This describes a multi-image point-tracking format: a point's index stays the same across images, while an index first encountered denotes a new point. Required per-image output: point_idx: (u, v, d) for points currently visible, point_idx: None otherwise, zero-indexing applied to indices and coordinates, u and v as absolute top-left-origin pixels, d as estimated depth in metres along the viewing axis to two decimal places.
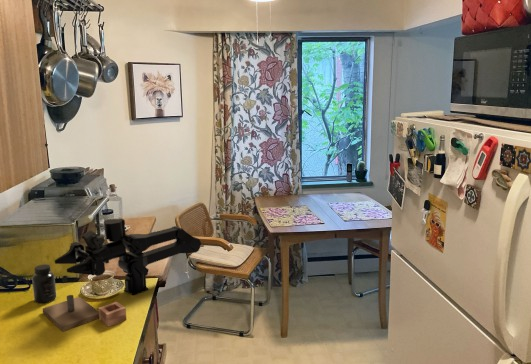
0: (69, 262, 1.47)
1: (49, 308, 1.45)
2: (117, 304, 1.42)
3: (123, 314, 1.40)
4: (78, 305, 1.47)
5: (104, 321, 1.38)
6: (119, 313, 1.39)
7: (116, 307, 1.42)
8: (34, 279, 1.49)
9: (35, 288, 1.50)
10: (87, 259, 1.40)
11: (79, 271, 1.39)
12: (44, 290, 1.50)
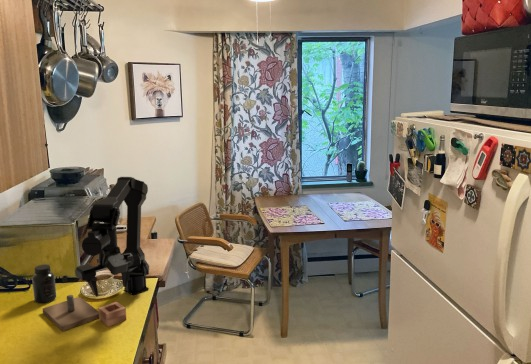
0: None
1: (49, 308, 1.45)
2: (117, 304, 1.42)
3: (123, 314, 1.40)
4: (78, 305, 1.47)
5: (104, 321, 1.38)
6: (119, 313, 1.39)
7: (116, 307, 1.42)
8: (34, 279, 1.49)
9: (35, 288, 1.50)
10: (131, 269, 1.40)
11: None
12: (44, 290, 1.50)
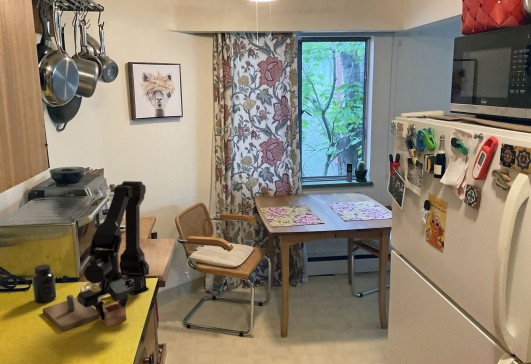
0: None
1: (49, 308, 1.45)
2: (117, 304, 1.42)
3: (123, 314, 1.40)
4: (78, 305, 1.47)
5: (104, 321, 1.38)
6: (119, 313, 1.39)
7: (116, 307, 1.42)
8: (34, 279, 1.49)
9: (35, 288, 1.50)
10: (128, 295, 1.41)
11: None
12: (44, 290, 1.50)
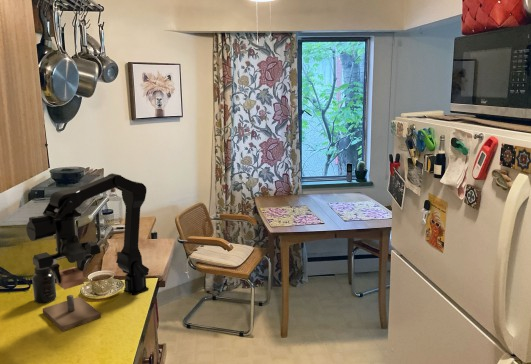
0: None
1: (49, 308, 1.45)
2: (75, 268, 1.42)
3: (80, 278, 1.40)
4: (78, 305, 1.47)
5: (61, 284, 1.38)
6: (76, 276, 1.39)
7: (74, 271, 1.42)
8: (34, 279, 1.49)
9: (35, 288, 1.50)
10: (86, 259, 1.41)
11: None
12: (44, 290, 1.50)
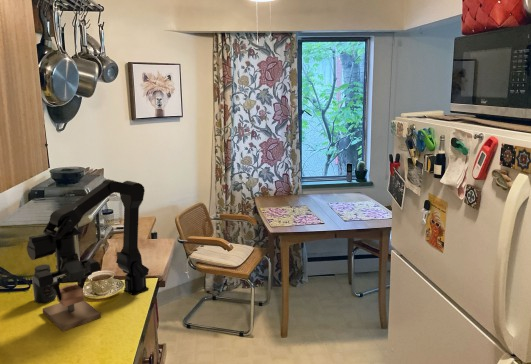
0: None
1: (49, 308, 1.45)
2: (75, 285, 1.44)
3: (80, 295, 1.41)
4: (78, 305, 1.47)
5: (61, 302, 1.40)
6: (76, 294, 1.40)
7: (74, 288, 1.44)
8: None
9: (35, 288, 1.50)
10: (86, 277, 1.43)
11: None
12: (44, 290, 1.50)
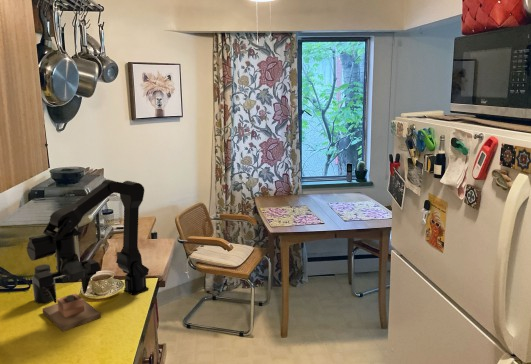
0: None
1: (49, 308, 1.45)
2: (76, 295, 1.45)
3: (81, 305, 1.42)
4: None
5: (62, 312, 1.40)
6: (77, 304, 1.41)
7: (75, 298, 1.44)
8: None
9: (35, 288, 1.50)
10: (90, 276, 1.44)
11: None
12: (44, 290, 1.50)
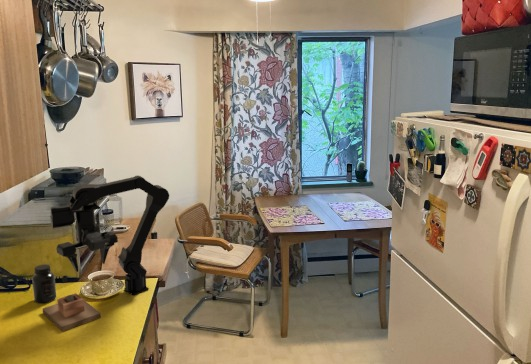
0: None
1: (49, 308, 1.45)
2: (76, 295, 1.45)
3: (81, 305, 1.42)
4: None
5: (62, 312, 1.40)
6: (77, 304, 1.41)
7: (75, 298, 1.44)
8: (34, 279, 1.49)
9: (35, 288, 1.50)
10: (109, 247, 1.53)
11: None
12: (44, 290, 1.50)
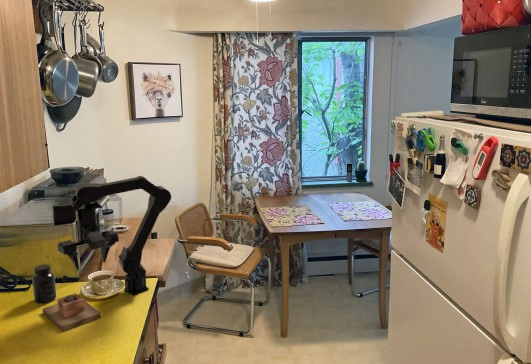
0: None
1: (49, 308, 1.45)
2: (76, 295, 1.45)
3: (81, 305, 1.42)
4: None
5: (62, 312, 1.40)
6: (77, 304, 1.41)
7: (75, 298, 1.44)
8: (34, 279, 1.49)
9: (35, 288, 1.50)
10: (109, 246, 1.54)
11: None
12: (44, 290, 1.50)
